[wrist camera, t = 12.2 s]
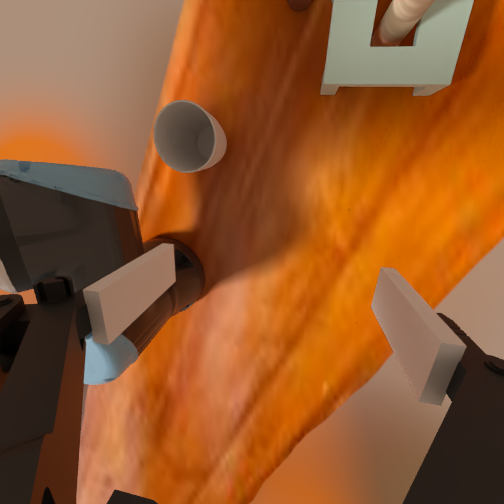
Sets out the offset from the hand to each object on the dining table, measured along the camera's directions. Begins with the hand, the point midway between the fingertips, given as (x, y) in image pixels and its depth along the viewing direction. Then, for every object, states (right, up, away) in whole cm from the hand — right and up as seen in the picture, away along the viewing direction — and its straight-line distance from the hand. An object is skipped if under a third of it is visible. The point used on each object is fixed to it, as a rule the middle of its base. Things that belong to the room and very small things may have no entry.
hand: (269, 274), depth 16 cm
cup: (-8, +19, +24) cm, 31 cm away
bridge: (+16, +28, +16) cm, 36 cm away
